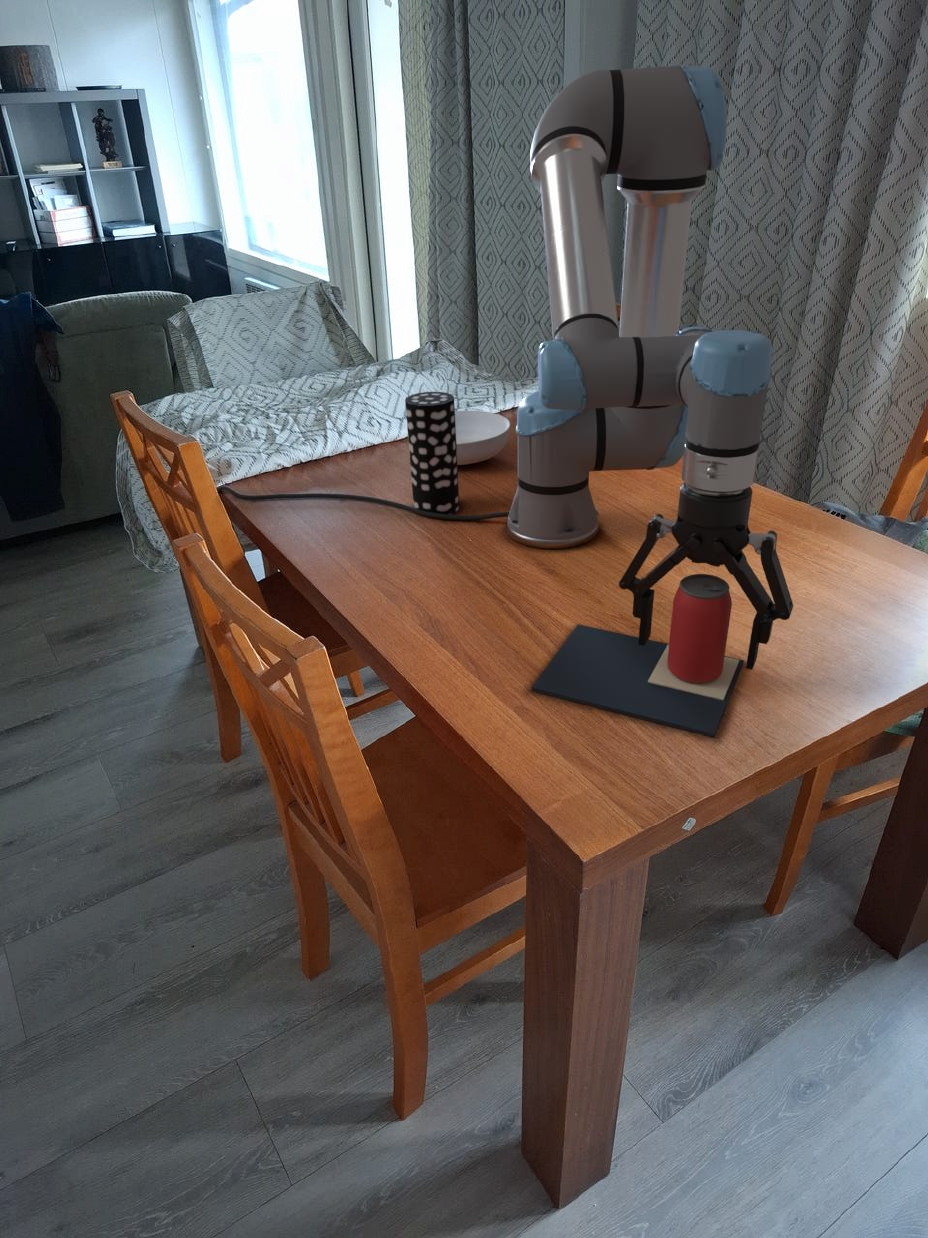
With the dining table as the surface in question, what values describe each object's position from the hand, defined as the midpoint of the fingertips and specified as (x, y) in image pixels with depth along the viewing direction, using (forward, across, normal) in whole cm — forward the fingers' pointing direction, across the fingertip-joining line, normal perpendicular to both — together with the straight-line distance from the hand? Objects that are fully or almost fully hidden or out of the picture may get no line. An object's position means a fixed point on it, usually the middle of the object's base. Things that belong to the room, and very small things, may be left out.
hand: (696, 651), depth 100 cm
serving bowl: (+4, -63, +59) cm, 86 cm away
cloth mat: (+4, -6, -3) cm, 8 cm away
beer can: (+3, 0, 0) cm, 3 cm away
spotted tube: (+4, -55, +34) cm, 65 cm away
